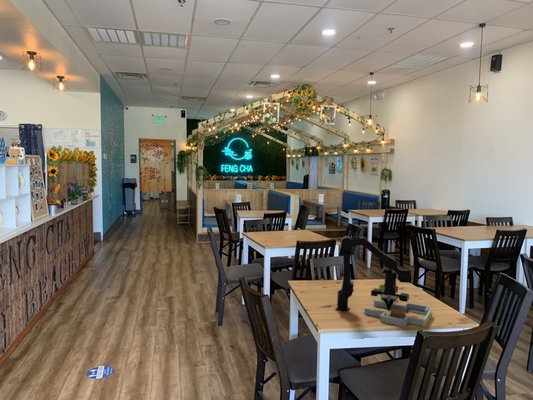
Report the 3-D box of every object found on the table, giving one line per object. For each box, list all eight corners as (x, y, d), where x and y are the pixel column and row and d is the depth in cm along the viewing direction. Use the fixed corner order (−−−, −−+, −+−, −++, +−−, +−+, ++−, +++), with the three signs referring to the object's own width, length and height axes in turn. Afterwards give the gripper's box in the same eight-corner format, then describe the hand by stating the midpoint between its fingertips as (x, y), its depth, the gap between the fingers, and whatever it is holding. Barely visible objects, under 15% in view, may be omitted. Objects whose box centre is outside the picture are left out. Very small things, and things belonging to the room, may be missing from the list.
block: (402, 318, 201) (402, 310, 201) (390, 315, 205) (390, 308, 204) (405, 314, 207) (405, 307, 206) (393, 312, 210) (393, 305, 209)
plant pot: (380, 297, 235) (381, 283, 234) (396, 300, 230) (397, 286, 229) (376, 302, 227) (376, 287, 226) (393, 305, 222) (393, 290, 221)
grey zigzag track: (422, 330, 186) (422, 324, 186) (360, 317, 202) (360, 311, 202) (433, 312, 211) (433, 307, 210) (377, 302, 227) (377, 297, 226)
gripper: (412, 281, 209) (411, 309, 211) (377, 275, 219) (376, 303, 220) (407, 285, 200) (406, 316, 201) (370, 280, 210) (370, 308, 211)
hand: (389, 310), depth 209 cm, fingers closed
